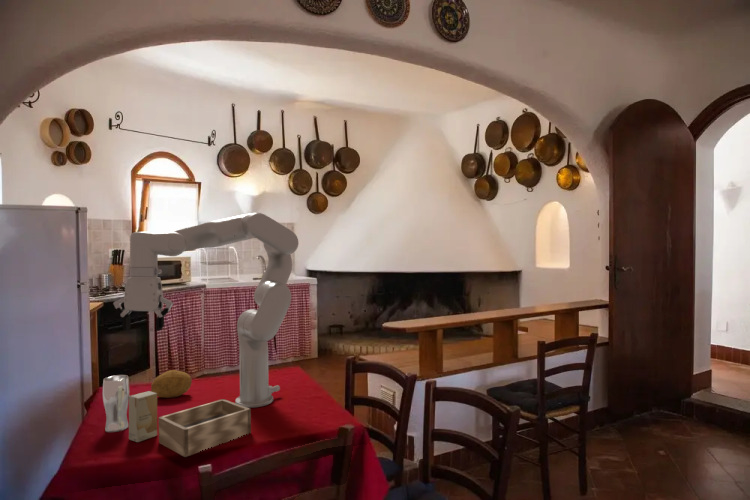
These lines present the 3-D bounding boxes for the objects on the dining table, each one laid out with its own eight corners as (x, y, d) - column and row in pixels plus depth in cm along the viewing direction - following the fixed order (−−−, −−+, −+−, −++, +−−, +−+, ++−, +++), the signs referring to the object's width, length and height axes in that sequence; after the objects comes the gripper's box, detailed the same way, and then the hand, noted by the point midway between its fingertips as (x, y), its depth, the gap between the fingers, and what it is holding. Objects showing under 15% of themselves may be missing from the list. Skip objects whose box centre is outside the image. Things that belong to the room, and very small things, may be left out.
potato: (153, 368, 176) (150, 372, 167) (193, 367, 180) (191, 371, 171) (152, 395, 175) (148, 401, 167) (191, 393, 179) (190, 399, 170)
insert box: (223, 421, 149) (223, 398, 148) (250, 433, 140) (250, 408, 139) (158, 442, 133) (158, 417, 133) (184, 457, 124) (184, 429, 124)
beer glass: (110, 424, 147) (109, 375, 147) (133, 423, 148) (133, 374, 148) (98, 433, 140) (97, 381, 140) (124, 432, 141) (123, 380, 141)
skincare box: (137, 443, 133) (136, 398, 133) (128, 439, 136) (127, 396, 135) (158, 435, 139) (158, 392, 139) (149, 432, 141) (148, 390, 141)
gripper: (177, 272, 150) (176, 328, 150) (120, 272, 150) (120, 327, 150) (167, 274, 143) (167, 332, 143) (108, 273, 142) (107, 331, 143)
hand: (143, 329), depth 146 cm, fingers open, 9 cm apart
